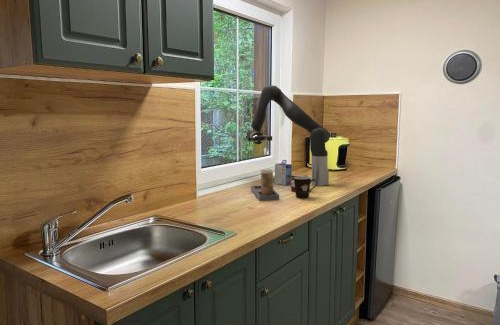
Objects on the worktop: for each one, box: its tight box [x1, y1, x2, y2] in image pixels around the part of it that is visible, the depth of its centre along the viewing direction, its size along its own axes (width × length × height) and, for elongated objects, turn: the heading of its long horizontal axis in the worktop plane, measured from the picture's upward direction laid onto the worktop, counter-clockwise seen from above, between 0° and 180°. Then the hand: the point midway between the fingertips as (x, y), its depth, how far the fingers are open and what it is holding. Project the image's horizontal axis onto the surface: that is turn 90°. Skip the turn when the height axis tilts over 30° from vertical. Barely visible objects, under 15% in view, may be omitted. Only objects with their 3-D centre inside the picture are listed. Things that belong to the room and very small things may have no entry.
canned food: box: [290, 174, 309, 193], centre depth 203 cm, size 11×10×10 cm
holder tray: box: [250, 185, 280, 202], centre depth 195 cm, size 10×26×2 cm, turn 9°
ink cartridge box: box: [274, 159, 293, 186], centre depth 223 cm, size 10×6×14 cm, turn 39°
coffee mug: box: [293, 175, 318, 200], centre depth 187 cm, size 12×9×10 cm
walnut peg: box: [260, 168, 274, 195], centre depth 187 cm, size 5×5×14 cm
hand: (262, 139), depth 212 cm, fingers open, 8 cm apart
